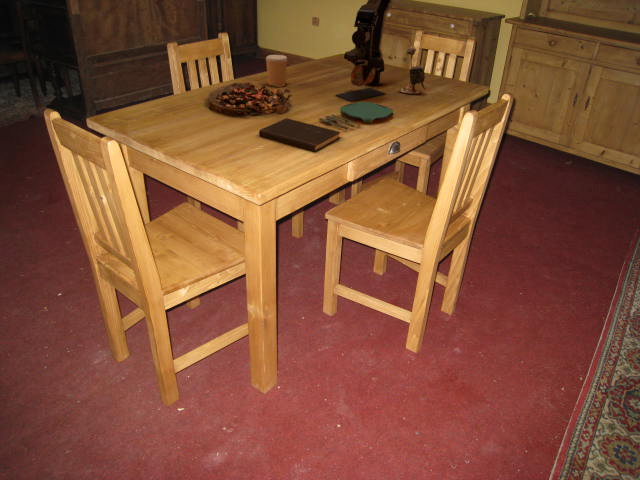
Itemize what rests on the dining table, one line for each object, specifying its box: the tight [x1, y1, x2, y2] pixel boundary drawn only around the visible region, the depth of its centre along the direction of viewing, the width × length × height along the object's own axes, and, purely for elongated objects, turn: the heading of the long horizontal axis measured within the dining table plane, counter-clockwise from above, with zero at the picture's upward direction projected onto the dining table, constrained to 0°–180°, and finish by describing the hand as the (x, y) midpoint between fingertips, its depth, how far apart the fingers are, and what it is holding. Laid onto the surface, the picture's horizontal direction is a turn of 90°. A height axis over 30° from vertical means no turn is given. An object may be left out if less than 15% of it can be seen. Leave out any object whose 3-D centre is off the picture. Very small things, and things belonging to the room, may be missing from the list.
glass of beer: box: [265, 54, 288, 88], centre depth 229 cm, size 9×9×12 cm
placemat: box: [335, 87, 386, 103], centre depth 223 cm, size 20×10×1 cm, turn 130°
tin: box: [350, 63, 376, 88], centre depth 219 cm, size 15×3×8 cm, turn 140°
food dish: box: [206, 82, 293, 117], centre depth 205 cm, size 35×33×8 cm
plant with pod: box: [399, 45, 426, 95], centre depth 223 cm, size 8×11×20 cm
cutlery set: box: [318, 101, 394, 131], centre depth 196 cm, size 20×30×2 cm, turn 134°
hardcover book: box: [258, 117, 341, 152], centre depth 177 cm, size 16×23×2 cm
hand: (362, 79), depth 220 cm, fingers closed on tin, 3 cm apart
